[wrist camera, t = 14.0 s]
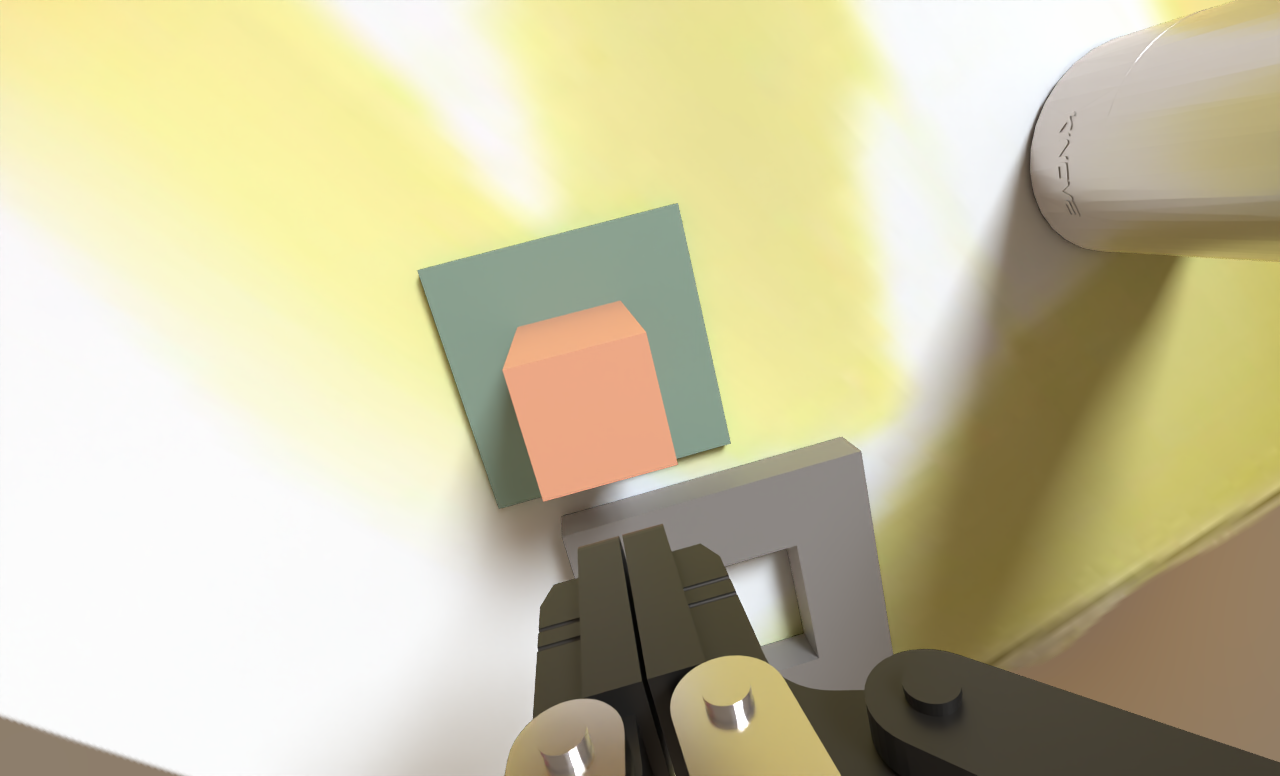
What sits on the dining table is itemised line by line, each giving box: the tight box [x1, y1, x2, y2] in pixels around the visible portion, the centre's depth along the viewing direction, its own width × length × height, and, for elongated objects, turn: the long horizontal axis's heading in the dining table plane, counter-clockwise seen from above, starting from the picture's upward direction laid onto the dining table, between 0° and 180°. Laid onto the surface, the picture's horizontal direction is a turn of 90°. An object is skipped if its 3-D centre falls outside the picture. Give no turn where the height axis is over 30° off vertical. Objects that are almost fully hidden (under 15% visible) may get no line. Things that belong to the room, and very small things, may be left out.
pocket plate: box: [561, 437, 893, 690], centre depth 31 cm, size 14×14×2 cm
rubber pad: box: [417, 203, 731, 509], centre depth 28 cm, size 11×11×1 cm
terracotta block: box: [503, 301, 678, 502], centre depth 24 cm, size 4×4×8 cm
